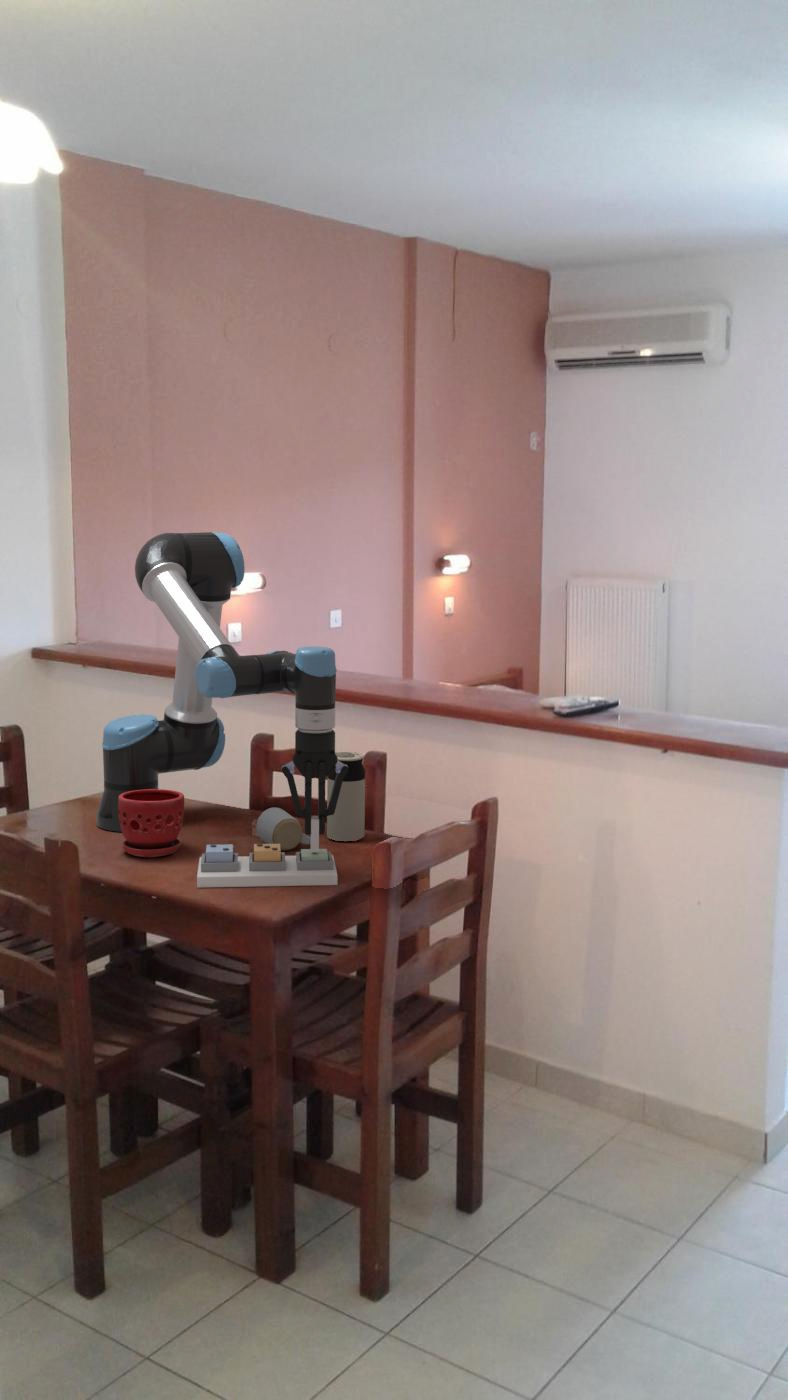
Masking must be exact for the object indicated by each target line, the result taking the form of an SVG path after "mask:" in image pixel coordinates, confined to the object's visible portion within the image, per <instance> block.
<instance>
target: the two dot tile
mask: <svg viewBox="0 0 788 1400" xmlns="http://www.w3.org/2000/svg"><path fill="white" fill-rule="evenodd" d="M233 853H234V844H231V843H230V844H229V843H228V844H206V848H205V854H206V862H233Z"/></svg>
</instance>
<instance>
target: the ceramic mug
mask: <svg viewBox="0 0 788 1400" xmlns="http://www.w3.org/2000/svg"><path fill="white" fill-rule="evenodd" d="M255 827H256V828H255V829H256V834H257V836H258V837H259V839H260V840H261V841H263V842H265V844H280V849H281V852H286V851H290V850H293V849H295V848H296V847H298V846H299V844H302V845H304V846H305V845H306V846H310V836H309V835H306V833H305V832H303V826H302V825H301V823H300V822H299V821H298V820H297V819H296V818H295V817H294V816H293V815H291V814H289V812H287V811H285V810H284V809H283V808H280V807H274V806H273V807H270V808H267V809H265V810H264V811H262V812H261V814H260V815H259V817H258V819H257V821H256V826H255Z"/></svg>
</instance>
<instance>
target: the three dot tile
mask: <svg viewBox="0 0 788 1400" xmlns="http://www.w3.org/2000/svg"><path fill="white" fill-rule="evenodd" d="M281 852H282V850H281V849H280V844H267V843H254V844H253V853H254V862H262V861H281Z"/></svg>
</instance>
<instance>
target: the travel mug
mask: <svg viewBox="0 0 788 1400" xmlns="http://www.w3.org/2000/svg"><path fill="white" fill-rule="evenodd" d="M335 754H336V756H337V758H338V761H340V762H341V763H343V764H347V766H348V768H349V771H348V772H347V774H346V775H345V777H344V778H343V782H342V785H341V789H340V793H339V797H338V801H337V805H336V809H335V813H334V814H333V815H329V816H327V817H326V837H327V839H329V840H331V839H332V840H331V841H333V840H335V841H334V842H337V841H352V840H356V839H360V838H362V837H363V836H364V837H365V823H366V822H365V819H366V818H365V817H366V815H365V814H366V813H365V812H366V811H365V809H366V769H365V768H364V765H363V759H364V758H365V755H364V754H363V753H361V752H358V751H357V752H356V751H337V752H336V751H335ZM335 769H336V766H334V768H333V769H332V770H331V772H330V773H329V774H328V776H326V778H327V784H326V785H327V786H326V787H327V789H326V790H327V793H326V794H327V795H326V796H327V797H326V798H327V799H326V800H327V801H326V808H328V805H329V801H330V797H331V793H332V789H333V785H334V781H335V777H336V774H337V773H336V770H335Z"/></svg>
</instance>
